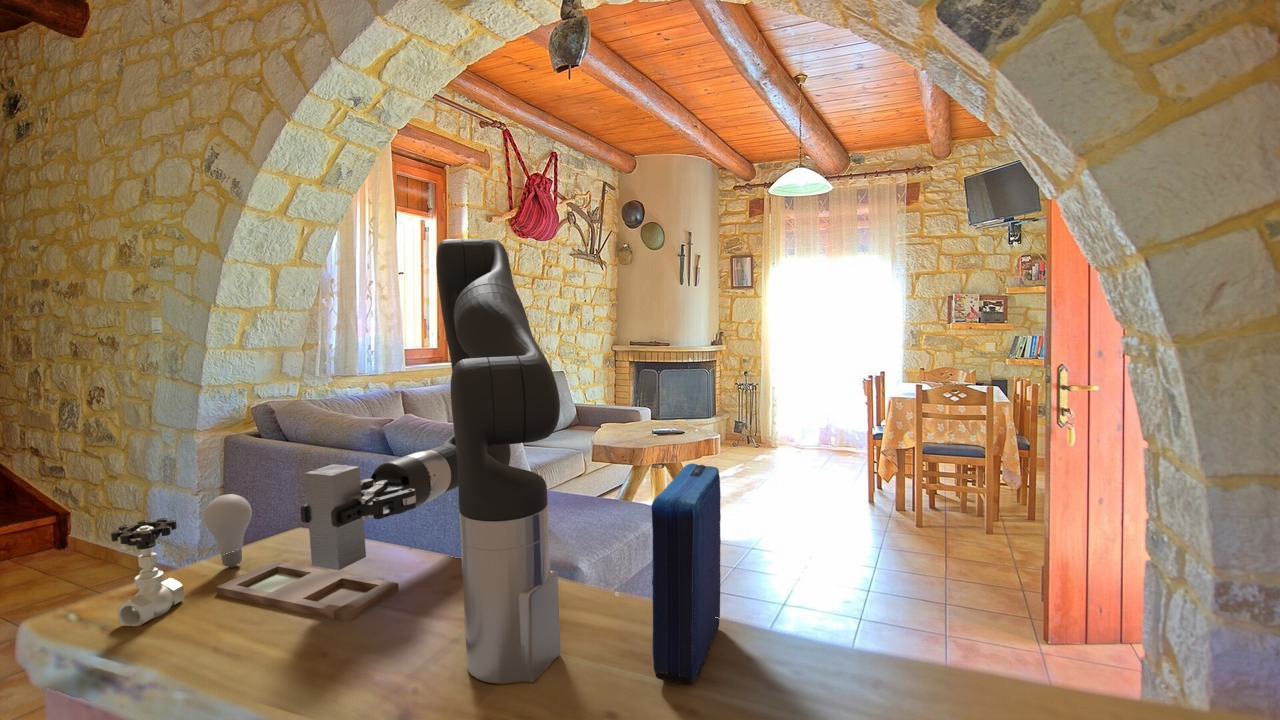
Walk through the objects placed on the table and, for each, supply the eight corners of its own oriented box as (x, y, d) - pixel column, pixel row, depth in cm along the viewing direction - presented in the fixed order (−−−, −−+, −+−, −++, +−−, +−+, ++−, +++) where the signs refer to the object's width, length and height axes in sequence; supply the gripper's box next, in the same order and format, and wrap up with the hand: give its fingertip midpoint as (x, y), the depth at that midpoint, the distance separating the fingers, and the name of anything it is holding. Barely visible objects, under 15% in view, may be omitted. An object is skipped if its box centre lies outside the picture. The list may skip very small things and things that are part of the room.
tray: (399, 596, 91) (398, 583, 91) (347, 627, 83) (346, 613, 82) (275, 573, 99) (274, 561, 99) (217, 599, 91) (216, 586, 91)
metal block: (366, 556, 89) (359, 466, 88) (339, 570, 85) (331, 475, 84) (339, 552, 91) (333, 464, 89) (312, 565, 86) (304, 473, 85)
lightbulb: (264, 563, 103) (258, 492, 102) (222, 578, 98) (215, 503, 96) (242, 555, 106) (236, 486, 105) (200, 570, 101) (193, 497, 100)
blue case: (683, 620, 83) (680, 458, 81) (726, 626, 81) (725, 461, 79) (648, 687, 69) (644, 494, 67) (700, 695, 67) (697, 498, 65)
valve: (197, 607, 89) (188, 518, 88) (156, 633, 82) (147, 536, 81) (150, 606, 90) (141, 517, 88) (106, 631, 83) (96, 535, 82)
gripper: (372, 452, 103) (273, 483, 87) (450, 458, 97) (360, 492, 81) (376, 501, 103) (278, 540, 88) (453, 509, 98) (365, 553, 82)
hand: (318, 516), depth 85 cm, fingers closed on metal block, 4 cm apart
